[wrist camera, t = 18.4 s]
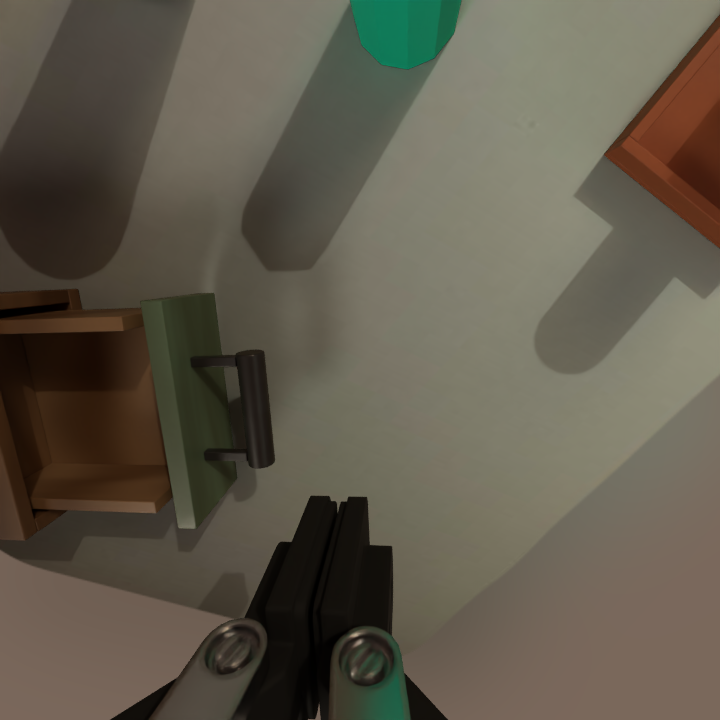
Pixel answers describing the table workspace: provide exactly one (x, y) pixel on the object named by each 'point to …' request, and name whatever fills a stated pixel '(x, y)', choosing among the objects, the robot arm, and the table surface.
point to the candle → (405, 29)
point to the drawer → (130, 407)
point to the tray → (681, 139)
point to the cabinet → (3, 472)
